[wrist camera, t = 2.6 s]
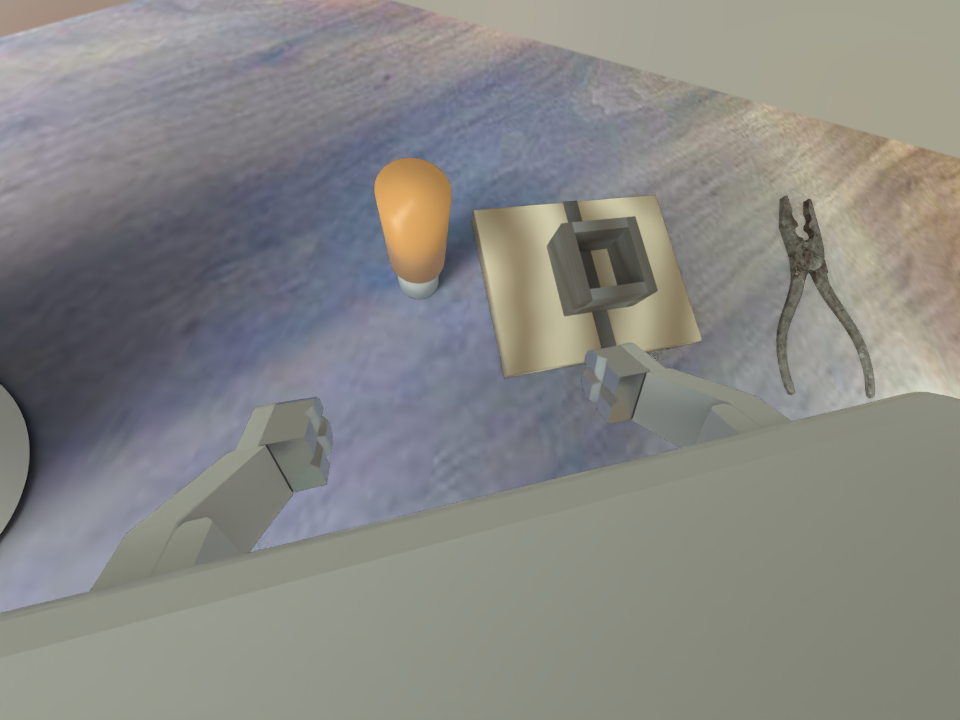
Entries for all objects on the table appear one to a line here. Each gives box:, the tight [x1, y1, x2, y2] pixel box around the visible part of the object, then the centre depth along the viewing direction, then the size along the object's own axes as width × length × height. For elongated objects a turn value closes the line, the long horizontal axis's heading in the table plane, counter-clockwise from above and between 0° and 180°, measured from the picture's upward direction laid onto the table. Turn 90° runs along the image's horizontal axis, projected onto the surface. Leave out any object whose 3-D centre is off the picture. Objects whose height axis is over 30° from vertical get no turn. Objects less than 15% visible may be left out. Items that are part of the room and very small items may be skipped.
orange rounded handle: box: [374, 158, 452, 299], centre depth 21 cm, size 4×4×10 cm
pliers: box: [776, 196, 875, 398], centre depth 31 cm, size 10×1×20 cm
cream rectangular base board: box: [471, 195, 702, 378], centre depth 26 cm, size 16×13×4 cm
